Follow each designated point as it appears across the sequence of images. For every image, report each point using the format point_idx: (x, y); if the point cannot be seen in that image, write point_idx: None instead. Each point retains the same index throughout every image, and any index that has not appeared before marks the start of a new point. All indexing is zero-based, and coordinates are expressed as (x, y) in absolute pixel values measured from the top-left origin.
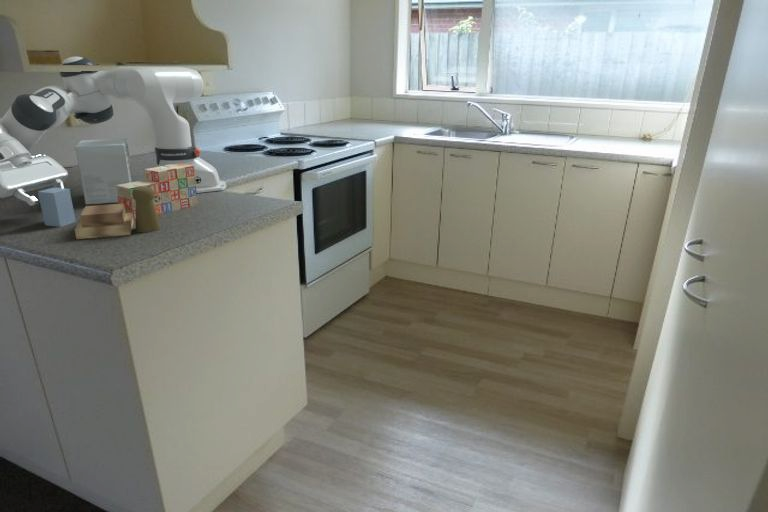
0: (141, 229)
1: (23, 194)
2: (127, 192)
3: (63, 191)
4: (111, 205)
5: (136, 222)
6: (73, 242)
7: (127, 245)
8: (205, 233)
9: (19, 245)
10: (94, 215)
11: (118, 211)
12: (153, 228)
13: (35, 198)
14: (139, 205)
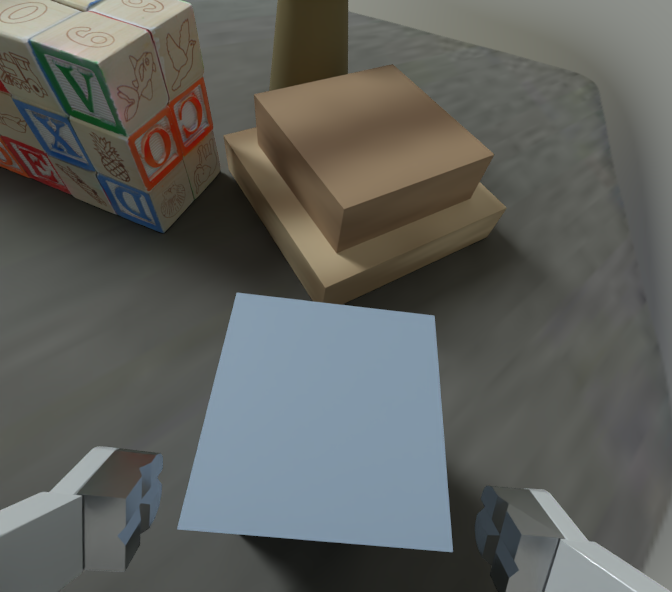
0: None
1: (665, 588)
2: (183, 46)
3: (316, 305)
4: (300, 120)
5: None
6: (514, 229)
7: (462, 105)
8: None
9: (652, 392)
10: (453, 125)
11: (382, 73)
12: None
13: (510, 505)
14: (347, 8)
